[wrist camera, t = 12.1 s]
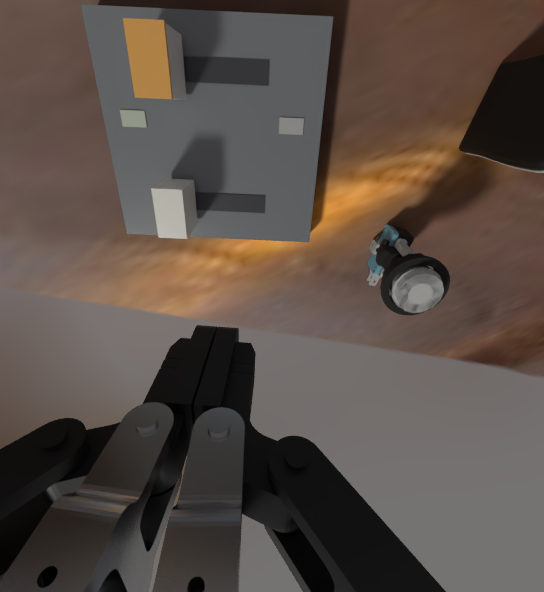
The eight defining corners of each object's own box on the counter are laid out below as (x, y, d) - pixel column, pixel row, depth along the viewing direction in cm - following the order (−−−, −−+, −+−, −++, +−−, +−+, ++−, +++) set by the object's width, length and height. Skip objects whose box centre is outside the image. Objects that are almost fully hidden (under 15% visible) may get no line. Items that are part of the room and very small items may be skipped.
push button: (389, 284, 36) (424, 340, 27) (345, 272, 35) (367, 325, 26) (419, 229, 32) (469, 273, 24) (371, 215, 32) (405, 255, 23)
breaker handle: (182, 33, 23) (163, 20, 19) (187, 100, 25) (171, 99, 21) (147, 32, 23) (122, 17, 19) (155, 99, 25) (134, 97, 21)
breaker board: (329, 22, 24) (344, -3, 19) (307, 235, 33) (313, 261, 27) (94, 11, 24) (39, -18, 19) (135, 227, 33) (105, 251, 27)
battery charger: (491, 163, 29) (600, 191, 19) (453, 152, 29) (544, 175, 19) (542, 72, 25) (706, 50, 16) (500, 59, 25) (641, 27, 15)
